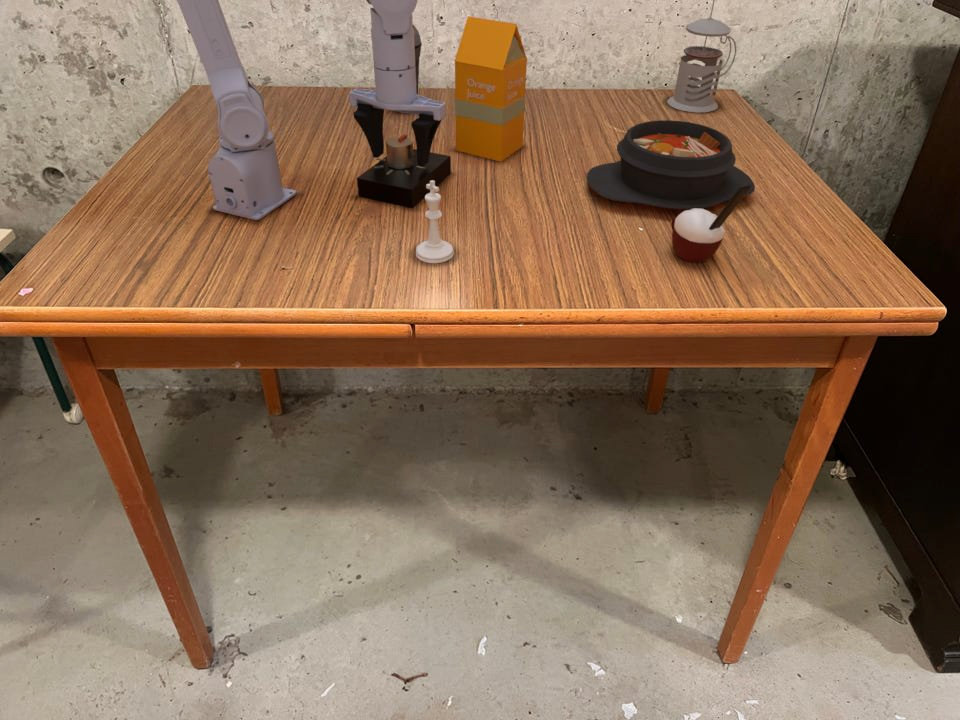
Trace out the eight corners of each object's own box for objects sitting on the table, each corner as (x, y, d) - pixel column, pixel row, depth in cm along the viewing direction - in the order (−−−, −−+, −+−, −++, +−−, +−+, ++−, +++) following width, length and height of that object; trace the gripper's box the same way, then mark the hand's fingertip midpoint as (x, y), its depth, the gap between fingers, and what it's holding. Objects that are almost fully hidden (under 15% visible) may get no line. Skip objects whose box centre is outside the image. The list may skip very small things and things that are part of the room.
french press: (658, 97, 137) (683, -46, 121) (708, 92, 140) (739, -49, 124) (683, 114, 130) (713, -36, 114) (736, 109, 133) (772, -39, 117)
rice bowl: (659, 240, 92) (676, 154, 85) (704, 238, 93) (725, 153, 85) (681, 278, 85) (703, 188, 78) (730, 276, 86) (756, 186, 78)
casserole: (722, 163, 112) (735, 112, 107) (773, 217, 98) (790, 160, 93) (573, 169, 110) (578, 117, 105) (602, 225, 96) (610, 167, 90)
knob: (406, 171, 101) (404, 146, 99) (382, 166, 103) (380, 141, 100) (418, 161, 104) (417, 136, 102) (395, 156, 105) (393, 132, 103)
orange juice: (478, 135, 120) (480, 11, 108) (523, 146, 117) (529, 18, 104) (454, 150, 115) (453, 21, 103) (500, 162, 112) (504, 29, 99)
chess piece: (433, 240, 92) (431, 169, 85) (461, 252, 89) (461, 180, 83) (407, 254, 89) (403, 182, 82) (436, 267, 86) (433, 193, 80)
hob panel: (412, 208, 99) (411, 188, 97) (355, 196, 102) (352, 176, 100) (451, 174, 108) (450, 154, 106) (397, 163, 111) (396, 144, 109)
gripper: (454, 63, 95) (455, 157, 104) (363, 51, 99) (372, 142, 108) (431, 78, 90) (435, 175, 99) (337, 64, 94) (348, 158, 103)
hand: (400, 159), depth 103 cm, fingers open, 7 cm apart
